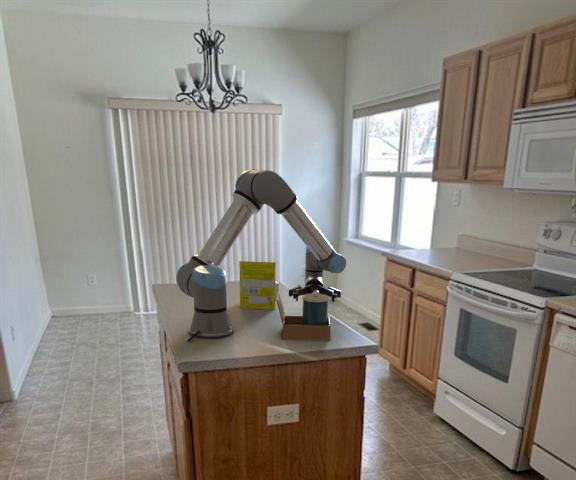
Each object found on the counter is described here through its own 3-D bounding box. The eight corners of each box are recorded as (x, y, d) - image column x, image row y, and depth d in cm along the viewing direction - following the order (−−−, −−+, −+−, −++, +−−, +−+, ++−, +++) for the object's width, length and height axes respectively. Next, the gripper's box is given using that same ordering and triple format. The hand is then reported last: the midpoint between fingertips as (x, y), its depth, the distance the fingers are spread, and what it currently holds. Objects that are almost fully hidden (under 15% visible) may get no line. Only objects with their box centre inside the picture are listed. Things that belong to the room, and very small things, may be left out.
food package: (275, 309, 230) (275, 262, 223) (274, 309, 229) (275, 262, 222) (240, 307, 232) (239, 260, 224) (239, 308, 231) (239, 261, 223)
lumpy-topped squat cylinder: (280, 299, 246) (280, 281, 243) (252, 300, 243) (252, 281, 240) (275, 294, 256) (275, 276, 253) (248, 295, 253) (248, 277, 250)
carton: (282, 339, 189) (282, 324, 187) (283, 329, 201) (284, 315, 199) (329, 340, 189) (330, 326, 187) (328, 330, 201) (329, 316, 199)
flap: (283, 322, 187) (282, 323, 187) (284, 313, 199) (283, 314, 199) (277, 300, 184) (276, 300, 184) (279, 292, 196) (278, 292, 196)
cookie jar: (316, 339, 189) (318, 294, 183) (295, 334, 194) (296, 290, 188) (332, 334, 195) (334, 290, 189) (312, 328, 201) (313, 286, 195)
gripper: (344, 296, 220) (347, 308, 200) (283, 294, 220) (281, 307, 201) (345, 277, 217) (349, 288, 198) (283, 276, 218) (281, 287, 198)
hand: (315, 298), depth 199 cm, fingers open, 13 cm apart
